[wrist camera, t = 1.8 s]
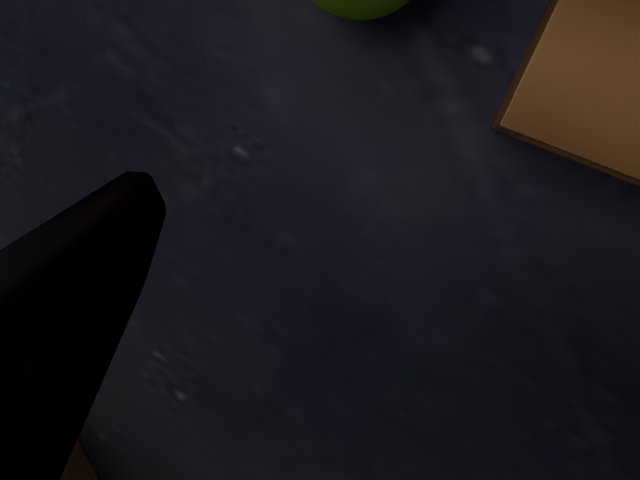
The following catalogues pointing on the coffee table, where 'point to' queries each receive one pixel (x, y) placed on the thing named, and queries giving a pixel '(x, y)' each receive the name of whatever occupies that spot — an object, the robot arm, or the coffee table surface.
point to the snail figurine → (360, 8)
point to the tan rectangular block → (581, 87)
